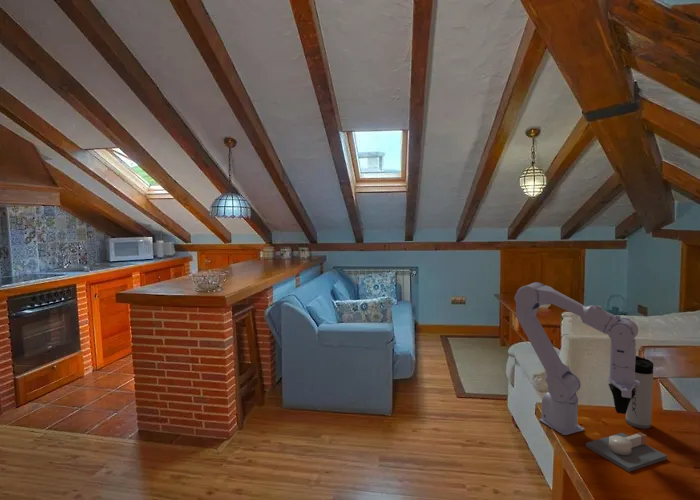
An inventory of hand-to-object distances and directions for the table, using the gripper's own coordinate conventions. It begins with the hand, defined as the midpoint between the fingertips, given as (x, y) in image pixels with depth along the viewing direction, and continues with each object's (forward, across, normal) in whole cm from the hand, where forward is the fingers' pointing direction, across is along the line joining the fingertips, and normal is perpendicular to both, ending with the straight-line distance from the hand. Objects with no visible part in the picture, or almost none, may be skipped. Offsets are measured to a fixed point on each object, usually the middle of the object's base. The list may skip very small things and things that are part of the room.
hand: (620, 412), depth 111 cm
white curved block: (+8, -3, -2) cm, 9 cm away
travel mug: (+10, +16, -7) cm, 20 cm away
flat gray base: (+9, -4, -1) cm, 10 cm away
